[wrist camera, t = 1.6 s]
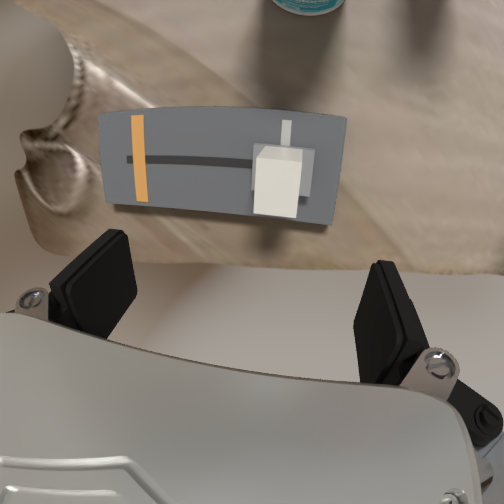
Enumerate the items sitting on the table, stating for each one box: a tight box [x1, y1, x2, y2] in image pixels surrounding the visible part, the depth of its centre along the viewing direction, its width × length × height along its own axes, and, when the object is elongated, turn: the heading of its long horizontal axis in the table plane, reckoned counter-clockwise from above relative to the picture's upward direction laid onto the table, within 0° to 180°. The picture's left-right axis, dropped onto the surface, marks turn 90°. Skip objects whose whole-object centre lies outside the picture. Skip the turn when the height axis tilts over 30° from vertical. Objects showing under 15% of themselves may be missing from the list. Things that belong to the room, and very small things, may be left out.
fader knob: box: [251, 143, 315, 218], centre depth 22 cm, size 5×4×6 cm
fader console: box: [98, 106, 347, 226], centre depth 27 cm, size 24×10×2 cm, turn 88°
